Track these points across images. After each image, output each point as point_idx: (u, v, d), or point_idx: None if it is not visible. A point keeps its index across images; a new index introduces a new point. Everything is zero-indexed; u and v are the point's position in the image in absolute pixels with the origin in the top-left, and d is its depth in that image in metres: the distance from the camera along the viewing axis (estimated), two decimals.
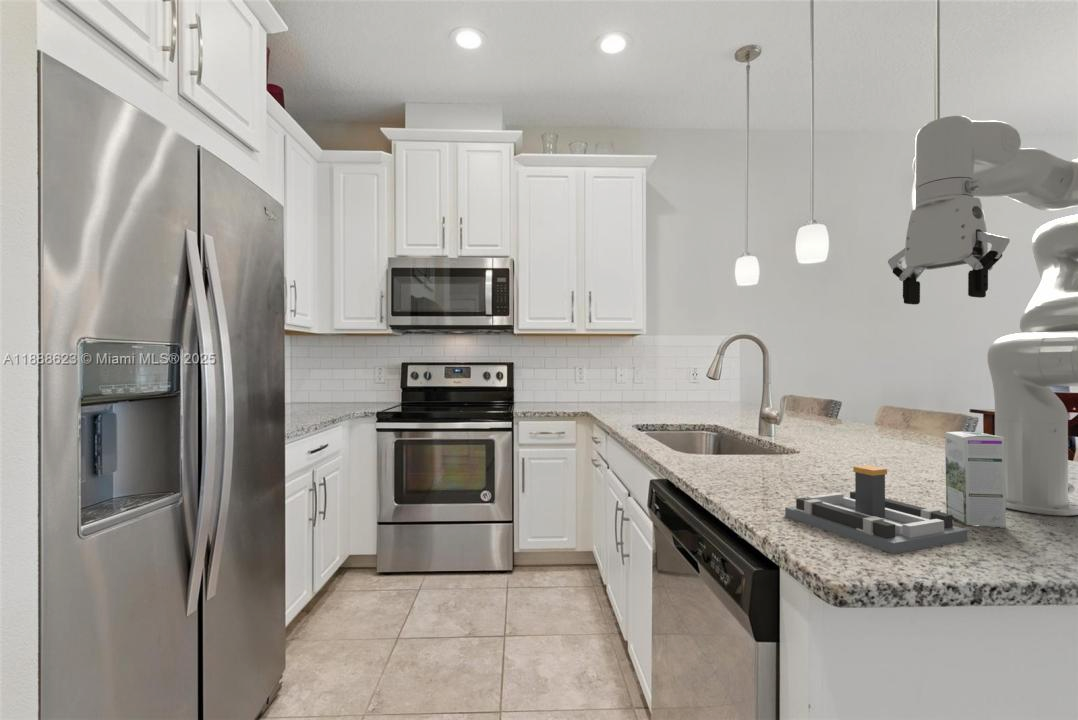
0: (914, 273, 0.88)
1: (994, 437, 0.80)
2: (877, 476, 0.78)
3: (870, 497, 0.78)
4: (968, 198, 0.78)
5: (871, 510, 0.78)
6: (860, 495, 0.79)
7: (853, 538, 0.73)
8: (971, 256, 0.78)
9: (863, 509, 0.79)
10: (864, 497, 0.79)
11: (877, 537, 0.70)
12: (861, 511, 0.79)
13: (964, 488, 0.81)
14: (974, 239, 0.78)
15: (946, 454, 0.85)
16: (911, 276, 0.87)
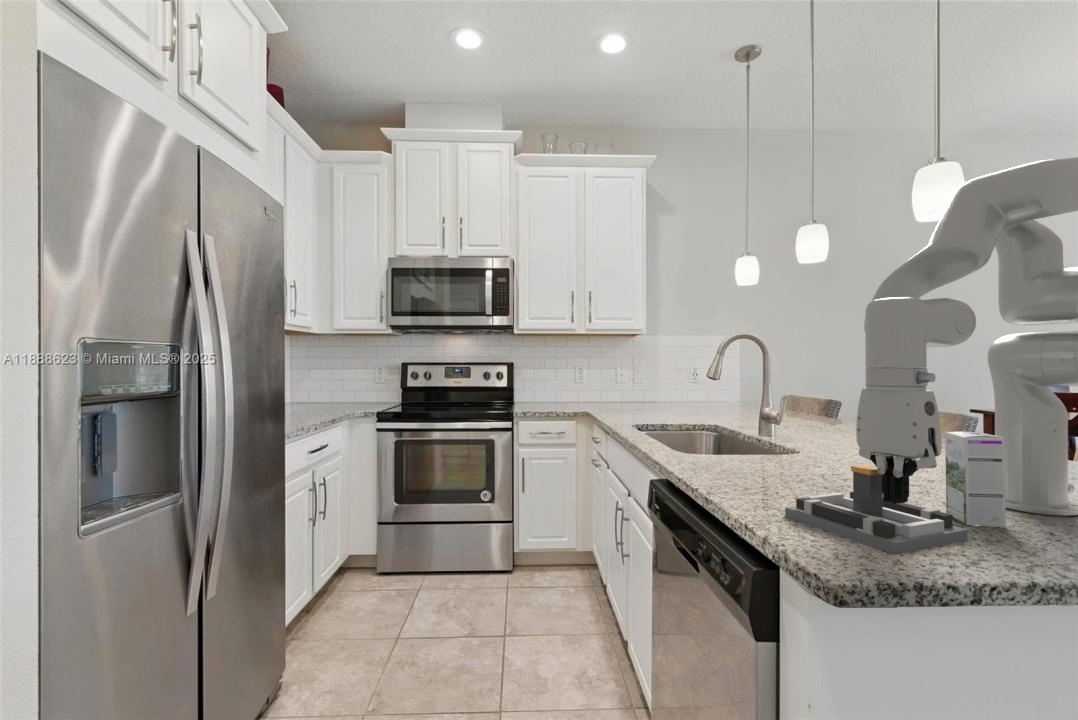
0: (889, 462, 0.77)
1: (994, 437, 0.80)
2: (875, 475, 0.78)
3: (868, 496, 0.78)
4: (920, 393, 0.71)
5: (869, 509, 0.78)
6: (858, 494, 0.80)
7: (853, 538, 0.73)
8: (902, 463, 0.73)
9: (861, 508, 0.79)
10: (862, 496, 0.79)
11: (877, 537, 0.70)
12: (859, 510, 0.80)
13: (964, 488, 0.81)
14: (926, 440, 0.71)
15: (946, 454, 0.85)
16: (889, 466, 0.77)
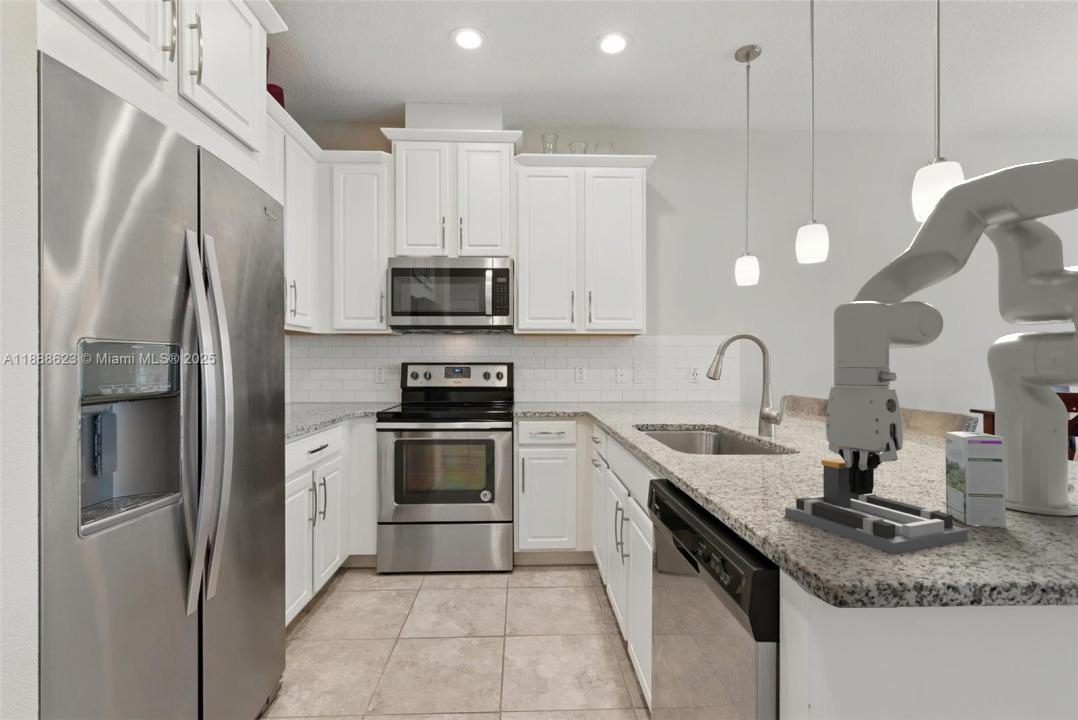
0: (856, 456, 0.82)
1: (994, 437, 0.80)
2: (843, 469, 0.83)
3: (837, 488, 0.83)
4: (882, 391, 0.76)
5: (837, 500, 0.83)
6: (827, 487, 0.85)
7: (853, 538, 0.73)
8: (866, 456, 0.79)
9: (830, 500, 0.84)
10: (831, 488, 0.84)
11: (877, 537, 0.70)
12: (828, 502, 0.85)
13: (964, 488, 0.81)
14: (888, 435, 0.76)
15: (946, 454, 0.85)
16: (855, 459, 0.82)
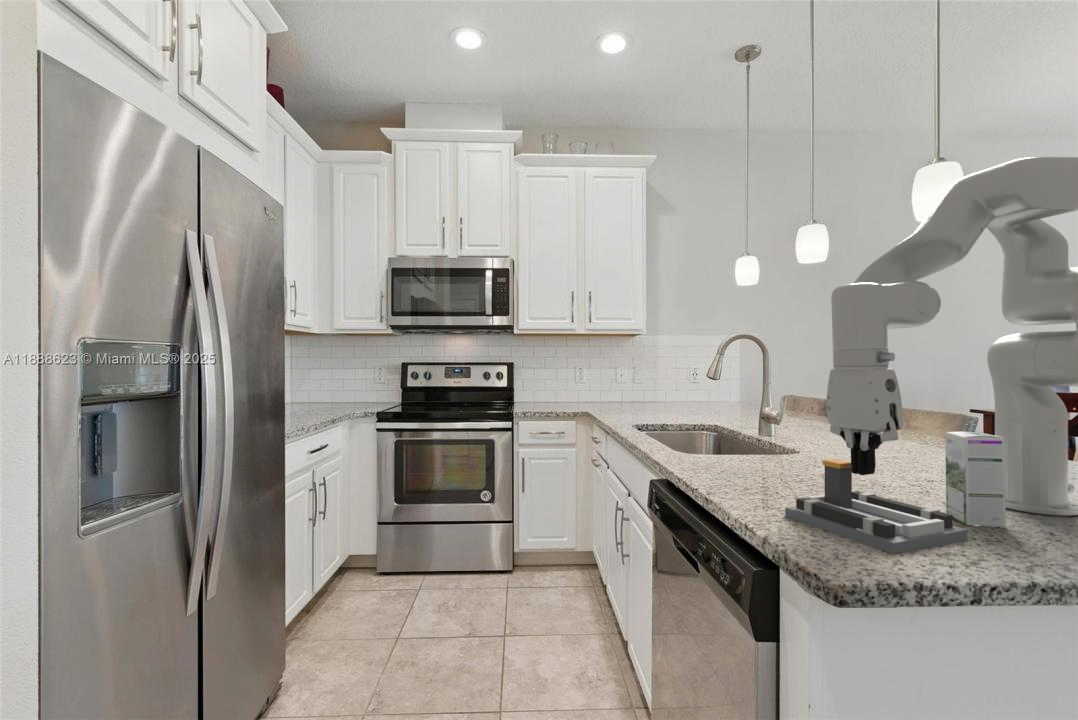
0: (857, 437, 0.83)
1: (994, 437, 0.80)
2: (844, 469, 0.83)
3: (838, 488, 0.83)
4: (881, 371, 0.77)
5: (838, 501, 0.83)
6: (829, 487, 0.85)
7: (853, 538, 0.73)
8: (867, 437, 0.79)
9: (831, 500, 0.84)
10: (832, 489, 0.84)
11: (877, 537, 0.70)
12: (829, 502, 0.84)
13: (964, 488, 0.81)
14: (888, 414, 0.76)
15: (946, 454, 0.85)
16: (856, 440, 0.82)
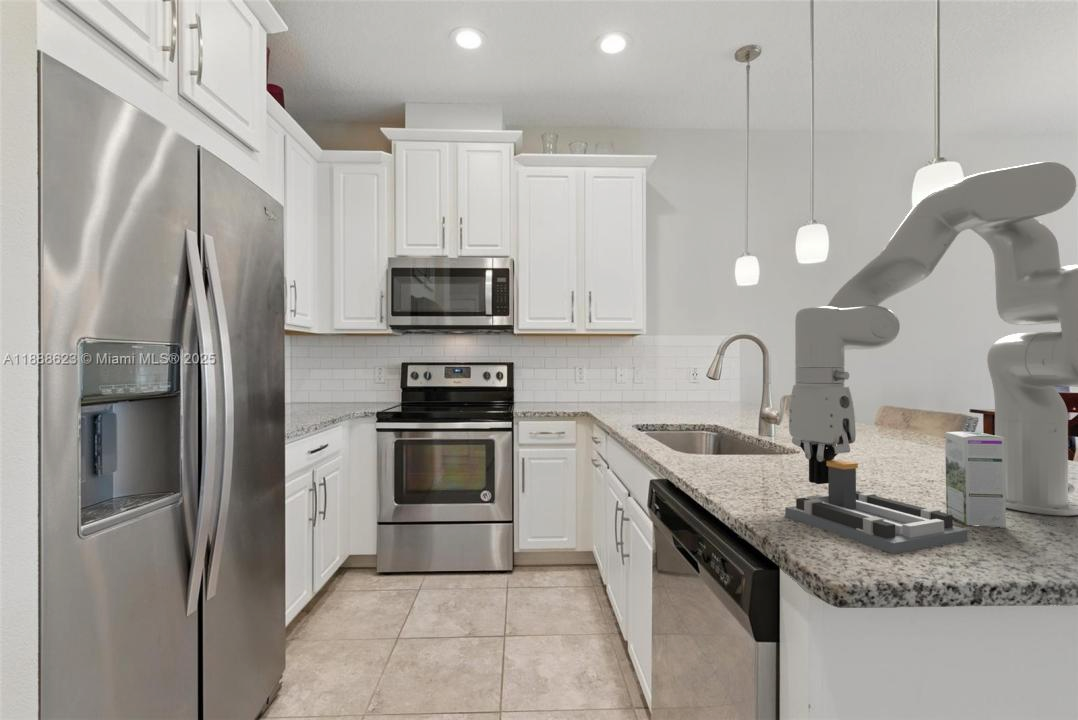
0: (816, 449, 0.90)
1: (994, 437, 0.80)
2: (848, 470, 0.82)
3: (842, 489, 0.82)
4: (836, 388, 0.84)
5: (842, 502, 0.82)
6: (833, 488, 0.84)
7: (853, 538, 0.73)
8: (823, 449, 0.86)
9: (835, 501, 0.83)
10: (836, 490, 0.83)
11: (877, 537, 0.70)
12: (833, 503, 0.84)
13: (964, 488, 0.81)
14: (841, 429, 0.83)
15: (946, 454, 0.85)
16: (814, 452, 0.89)
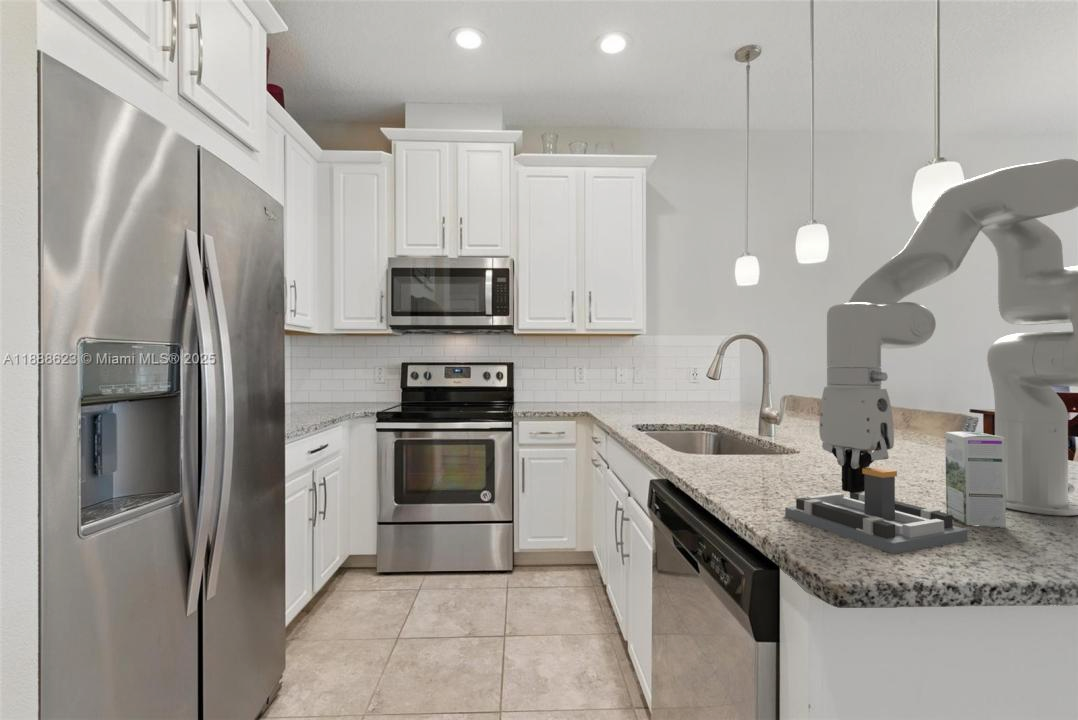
0: (849, 455, 0.84)
1: (994, 437, 0.80)
2: (887, 478, 0.77)
3: (880, 499, 0.76)
4: (873, 390, 0.78)
5: (881, 513, 0.76)
6: (869, 497, 0.78)
7: (853, 538, 0.73)
8: (858, 455, 0.80)
9: (872, 512, 0.77)
10: (873, 499, 0.77)
11: (877, 537, 0.70)
12: (870, 514, 0.78)
13: (964, 488, 0.81)
14: (879, 434, 0.77)
15: (946, 454, 0.85)
16: (848, 458, 0.83)
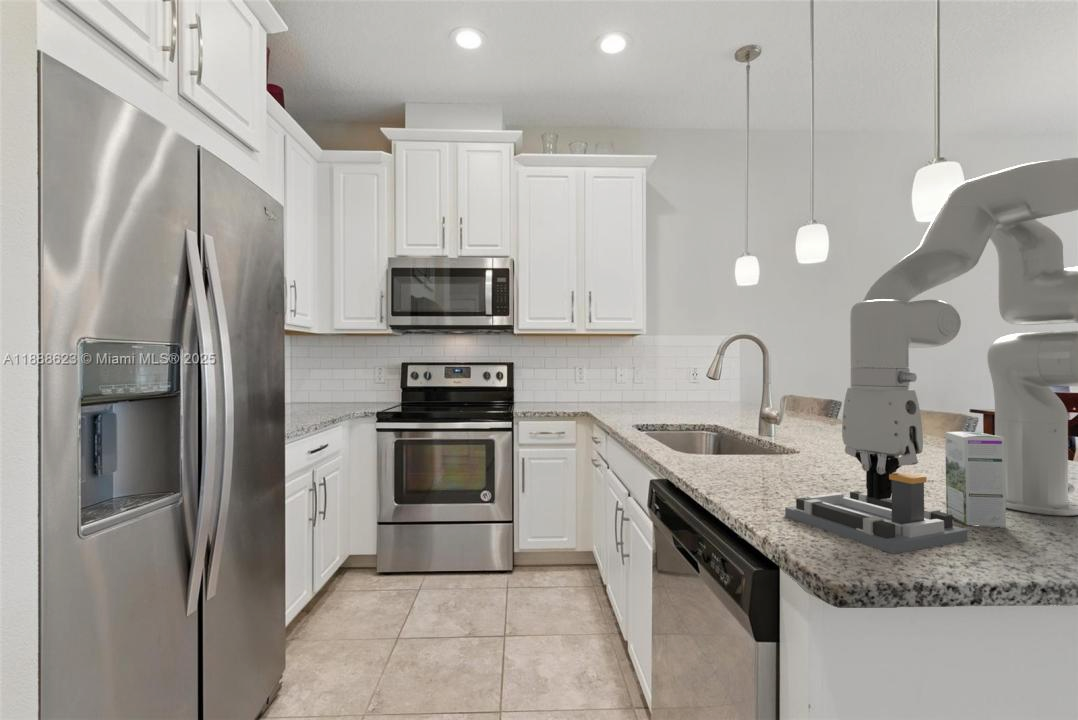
0: (874, 460, 0.80)
1: (994, 437, 0.80)
2: (916, 484, 0.73)
3: (909, 506, 0.72)
4: (901, 392, 0.74)
5: (910, 521, 0.72)
6: (897, 504, 0.74)
7: (853, 538, 0.73)
8: (885, 460, 0.76)
9: (900, 520, 0.74)
10: (902, 507, 0.73)
11: (877, 537, 0.70)
12: (898, 522, 0.74)
13: (964, 488, 0.81)
14: (907, 437, 0.73)
15: (946, 454, 0.85)
16: (873, 463, 0.79)
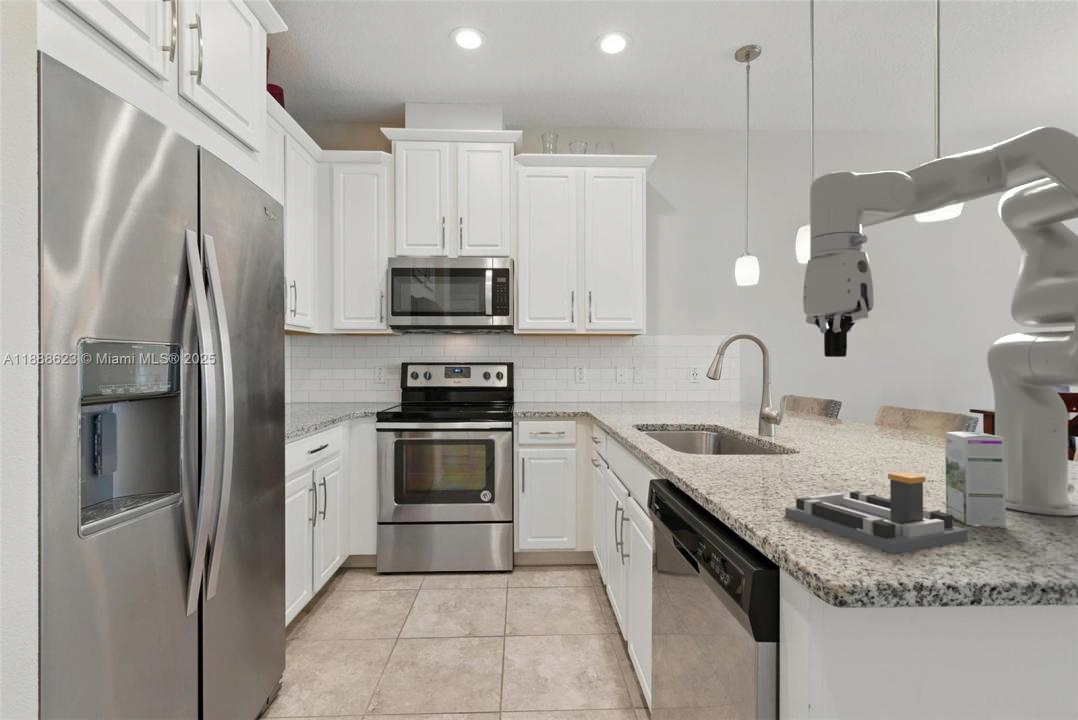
0: (831, 324, 0.87)
1: (994, 437, 0.80)
2: (915, 484, 0.73)
3: (908, 506, 0.73)
4: (854, 253, 0.81)
5: (908, 520, 0.73)
6: (896, 504, 0.74)
7: (853, 538, 0.73)
8: (839, 318, 0.83)
9: (899, 519, 0.74)
10: (900, 506, 0.74)
11: (877, 537, 0.70)
12: (897, 521, 0.74)
13: (964, 488, 0.81)
14: (859, 293, 0.80)
15: (946, 454, 0.85)
16: (830, 326, 0.86)
